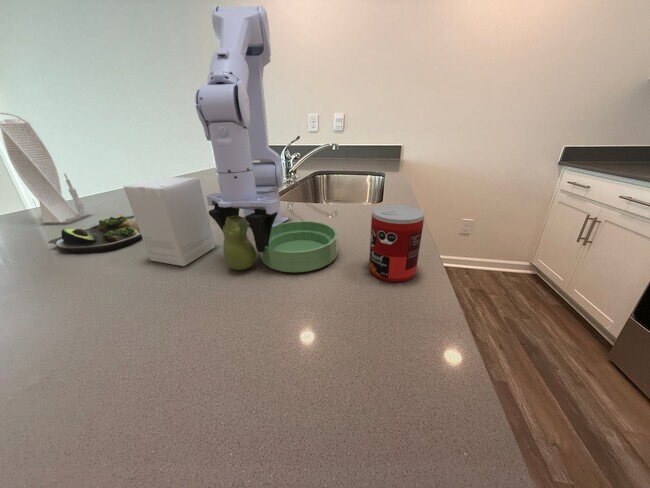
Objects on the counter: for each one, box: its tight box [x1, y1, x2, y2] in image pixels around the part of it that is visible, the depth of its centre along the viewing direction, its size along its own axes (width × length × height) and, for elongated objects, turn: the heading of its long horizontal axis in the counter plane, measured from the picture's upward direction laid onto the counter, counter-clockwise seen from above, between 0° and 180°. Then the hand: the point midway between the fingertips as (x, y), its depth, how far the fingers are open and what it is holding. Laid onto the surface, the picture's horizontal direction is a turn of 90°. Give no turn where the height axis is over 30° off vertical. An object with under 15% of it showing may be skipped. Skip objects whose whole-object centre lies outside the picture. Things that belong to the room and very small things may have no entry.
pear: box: [222, 215, 257, 271], centre depth 45 cm, size 6×5×10 cm
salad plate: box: [47, 214, 142, 254], centre depth 62 cm, size 19×18×5 cm
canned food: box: [368, 204, 425, 283], centre depth 43 cm, size 8×8×11 cm
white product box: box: [123, 176, 216, 267], centre depth 50 cm, size 9×9×15 cm
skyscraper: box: [0, 111, 90, 225], centre depth 68 cm, size 8×8×28 cm
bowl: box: [259, 220, 339, 273], centre depth 51 cm, size 15×15×4 cm
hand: (248, 246), depth 47 cm, fingers open, 6 cm apart
